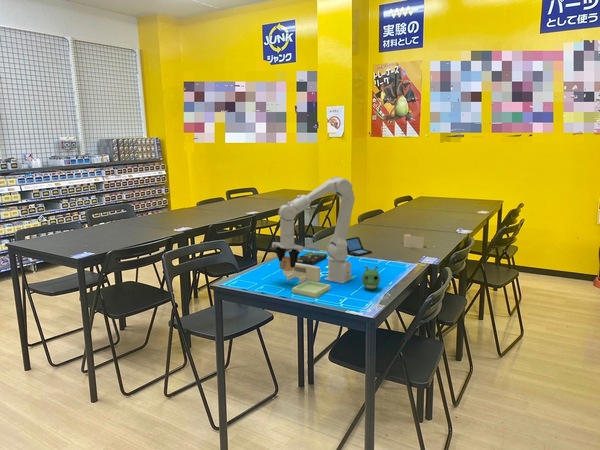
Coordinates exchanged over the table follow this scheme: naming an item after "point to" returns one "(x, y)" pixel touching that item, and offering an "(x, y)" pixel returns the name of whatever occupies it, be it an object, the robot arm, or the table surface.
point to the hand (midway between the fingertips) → (287, 266)
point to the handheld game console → (356, 247)
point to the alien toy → (371, 278)
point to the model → (413, 241)
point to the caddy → (286, 264)
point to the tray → (311, 289)
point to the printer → (304, 273)
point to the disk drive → (311, 258)
